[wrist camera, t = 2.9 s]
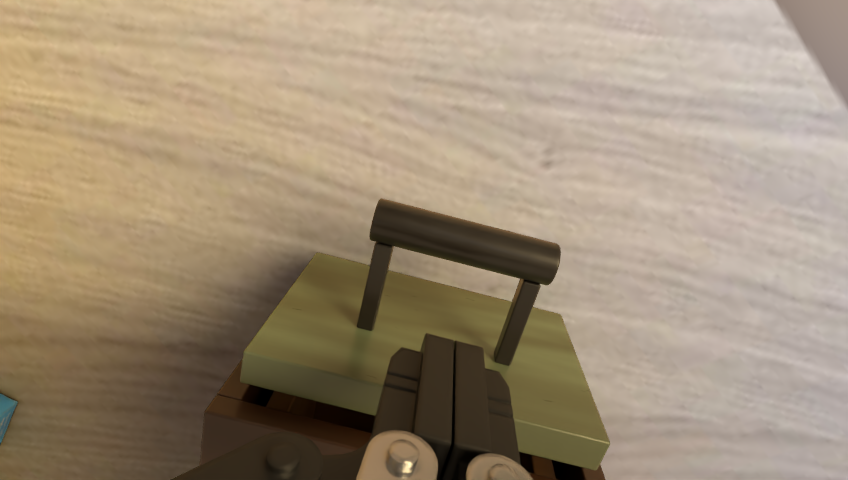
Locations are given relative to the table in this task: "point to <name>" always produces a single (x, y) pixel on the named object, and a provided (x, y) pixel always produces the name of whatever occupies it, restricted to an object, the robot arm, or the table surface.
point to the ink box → (5, 413)
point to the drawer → (435, 314)
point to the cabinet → (298, 428)
